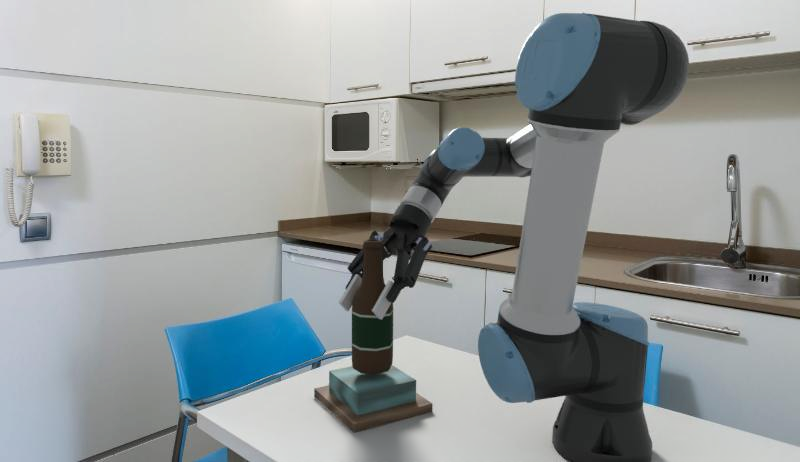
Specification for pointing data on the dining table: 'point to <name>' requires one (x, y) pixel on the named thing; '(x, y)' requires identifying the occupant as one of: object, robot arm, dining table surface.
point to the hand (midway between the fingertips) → (359, 310)
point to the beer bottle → (371, 317)
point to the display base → (372, 416)
